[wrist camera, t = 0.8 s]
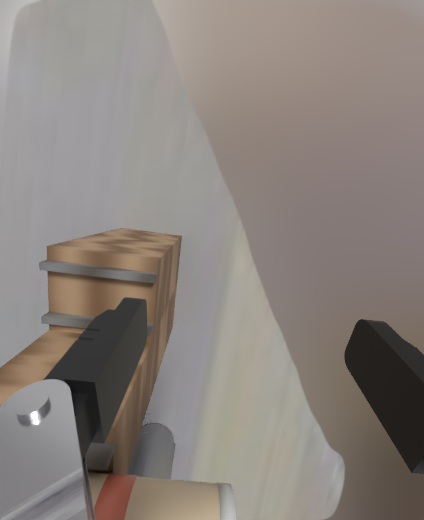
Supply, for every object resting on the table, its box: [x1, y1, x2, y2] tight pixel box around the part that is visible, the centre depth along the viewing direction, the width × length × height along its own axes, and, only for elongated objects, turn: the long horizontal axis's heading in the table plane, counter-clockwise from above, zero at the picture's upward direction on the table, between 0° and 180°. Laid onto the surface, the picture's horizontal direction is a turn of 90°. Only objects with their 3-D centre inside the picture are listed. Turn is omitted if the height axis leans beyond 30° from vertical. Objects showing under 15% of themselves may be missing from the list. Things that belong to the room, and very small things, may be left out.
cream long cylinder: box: [88, 472, 235, 520], centre depth 16 cm, size 20×4×4 cm, turn 83°
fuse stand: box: [0, 228, 182, 474], centre depth 31 cm, size 12×20×33 cm, turn 173°
